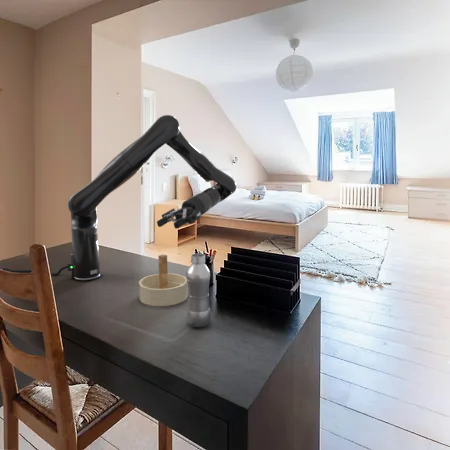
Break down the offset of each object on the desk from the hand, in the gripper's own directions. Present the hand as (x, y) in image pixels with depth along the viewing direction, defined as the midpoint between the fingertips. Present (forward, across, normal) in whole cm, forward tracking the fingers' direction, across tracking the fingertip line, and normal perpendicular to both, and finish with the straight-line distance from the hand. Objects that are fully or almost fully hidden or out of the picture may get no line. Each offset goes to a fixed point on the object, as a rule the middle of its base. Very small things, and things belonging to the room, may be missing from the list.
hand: (166, 225), depth 118 cm
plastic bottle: (+18, +24, +20) cm, 36 cm away
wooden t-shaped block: (+12, +2, +20) cm, 24 cm away
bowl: (+12, +2, +21) cm, 24 cm away
